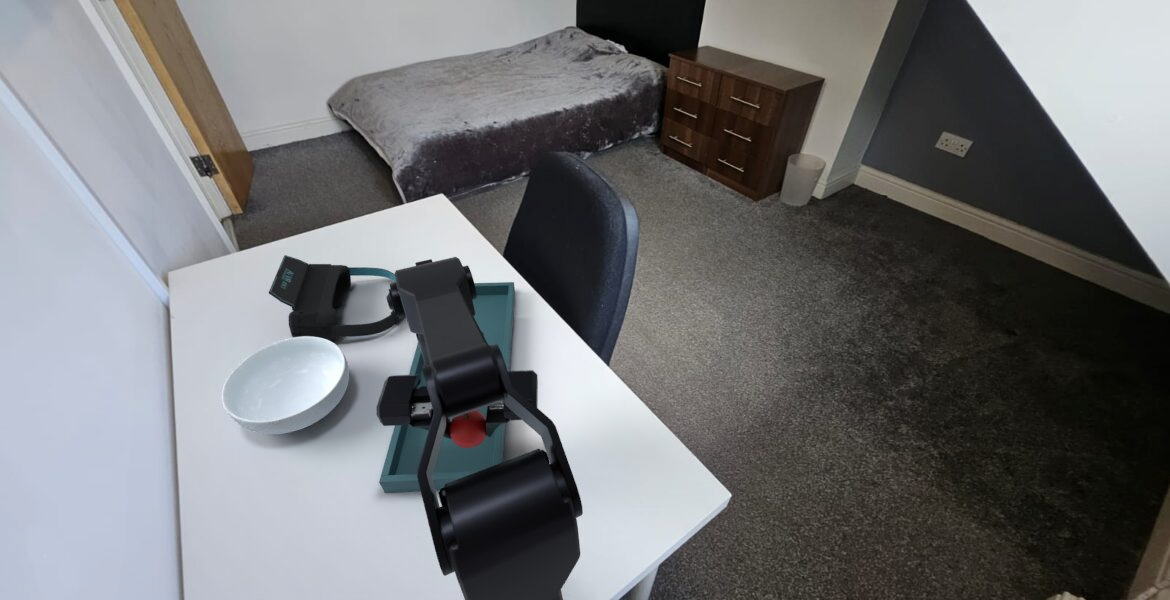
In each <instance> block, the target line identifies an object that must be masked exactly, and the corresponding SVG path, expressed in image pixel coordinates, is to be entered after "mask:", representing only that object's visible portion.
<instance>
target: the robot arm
mask: <svg viewBox="0 0 1170 600" xmlns="http://www.w3.org/2000/svg"><path fill="white" fill-rule="evenodd" d="M414 264H415V265H414V266H409V267H405V268H401V269H396V270H395V271H394V274H395V278H396V282H395V281H394V282H390V283H389V288H388V294H387V295H386V301H387V305H388V308H389V309H390V310H391V311H395V313H396V316H399V318H403V319H404V318H405V319H406V321H407V325H408V328H409V330H410V332H411V333H413V334H415V336H416V339H417V344H418V343H419V346H420V349H421V353H422V356H423V359H424V362H425V365H423V366H422V370H423V374H424V378H425V382H426V386H422V387H420V388H419V389H416V388H417V386H418V385H419V384H420V383H421V377H420V374H418V375H409V374H395V375H389V376H388V377H386V379H385V381H384V382H383V385H382V389H381V392H380V395H379V398H378V402H377V404H376V416H377V418H378V420H379V423H380V424H381V425H382V426H383V427H393V426H394V427H395V426H396V425H406V424H408V423H410V426H411V427H418V428H422V429H425V430H428V435H427V438H426V442H425V445H424V449H423V452H422V456H421V459H420V463H419V466H418V469H417V478H418V482H419V486H420V490H421V491H420V494H421V498H422V503H423V506H424V511H425V515H426V519H427V523H428V526H429V530H430V536H431V539H432V543H433V547H434V551H435V554H436V558H437V561H438V565H439V568H440V570H441V573H442V575H443V576H444V577H445V576H449V575H450V574H452V573H454V574H455V577H456V580H457V583H458V585H459V588H460V591H461V593H462V596H463V598H464V600H564V598H563V594H562V589H563V587H564V586H565V583H566V582H567V580H568V579H569V577H570V575H571V573H572V572H573V570H574V568H575V566H576V565H577V563H578V561H579V560H580V557H581V546H580V545H581V544H580V536H579V526H578V518H580V517H581V516H582V515H583V514H584V512H583V503H582V499H581V494H580V491H579V489H578V486H577V482H576V480H575V477H574V474H573V471H572V468H571V466H570V465H571V464H570V463H569V459H568V458H567V455H566V452H565V448H564V446H563V443H562V440H561V437H560V434H559V431H558V429H557V426H556V424H555V423H554V421H553V420H552V419H551V418H549V417H548V416H547V415H546V414H545V413H544V412H542V411H541V410H540V409H539V408H538V406H539V405H538V404H539V403H538V402H539V378H538V377H539V376H538V374H537V372H535V371H534V370H533V369H530V370H529V369H527V370H510V371H508V370H507V367H506V364H505V361H504V358H503V356H502V353H501V351H500V348H499V346H498V345H497V344H494V345H491V346H489V345H488V343H487V341H486V339H485V338H484V333H483V332H482V331H481V330H480V328H479V326H478V324H477V322H476V320H475V318H474V316H475V309H474V305H473V301H472V300H473V299H477V293H476V288H475V284H474V283H475V281H474V277H473V274H472V271H471V268H470V266H469V265H468V264H467V265H463V264H462V261H461V260H460V258H459V257H457V256H453V257H449V258H445V259H444V258H443V259H439V260H435V261H433V259H432V258H429V259H426V260H421V261H417V262H414ZM487 406H488V407H487ZM484 407H487V416H486V434H487V436H488V437H491V436H492V434H493V433H494V431H495V430H496V429H497V428H498V427H499V426H500V425H501V424H505V423H506V424H508V423H509V422H510V421H523V422H524V424H526V425H527V426H528V427H529V428H531V429H532V430H533V431H534V432H535V433H536V434H537V435H539V436H540V437H541V439H542V443H543V446H544V449H545V450H544V449H540V448H536V449H534V450H531V451H529V452H525V453H523V454H521V455H518V456H515V457H513V458H510V459H508V460H505V461H503V462H502V463H499V464H497V465H494V466H492V467H489V468H486V469H484V470H481V471H478V472H476V473H473V474H471V475H468V476H465V477H463V478H460V479H457V480H455V481H452V482H449V483H447V484H444V487H443V488H441V489H440V490H438V495H437V492H436V491H437V490H435V487H434V483H433V479H432V475H433V472H434V468H435V465H436V461H437V457H438V454H439V450H440V446H441V443H442V439H443V437H446V438H448V439H452V438H451V436H450V424H451V421H450V419H451V418H454V417H457V416H460V415H463V414H466V413H469V412H472V411H475V410H478V409H481V408H484ZM438 498H439V499H438ZM439 501H440V502H439ZM440 505H441V506H440Z"/></svg>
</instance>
